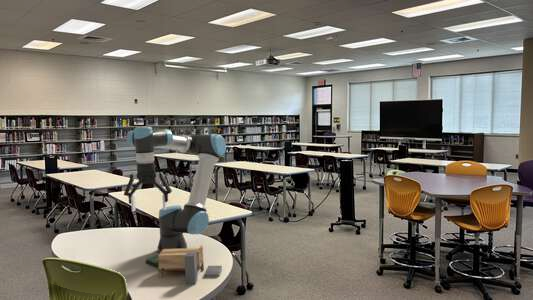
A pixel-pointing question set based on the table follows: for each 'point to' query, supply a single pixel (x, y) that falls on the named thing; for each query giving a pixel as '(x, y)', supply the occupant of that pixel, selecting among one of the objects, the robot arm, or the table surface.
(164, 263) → the cabinet
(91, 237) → the table surface
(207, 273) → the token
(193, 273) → the grey rectangular block
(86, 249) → the table surface
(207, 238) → the table surface
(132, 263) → the table surface
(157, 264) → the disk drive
